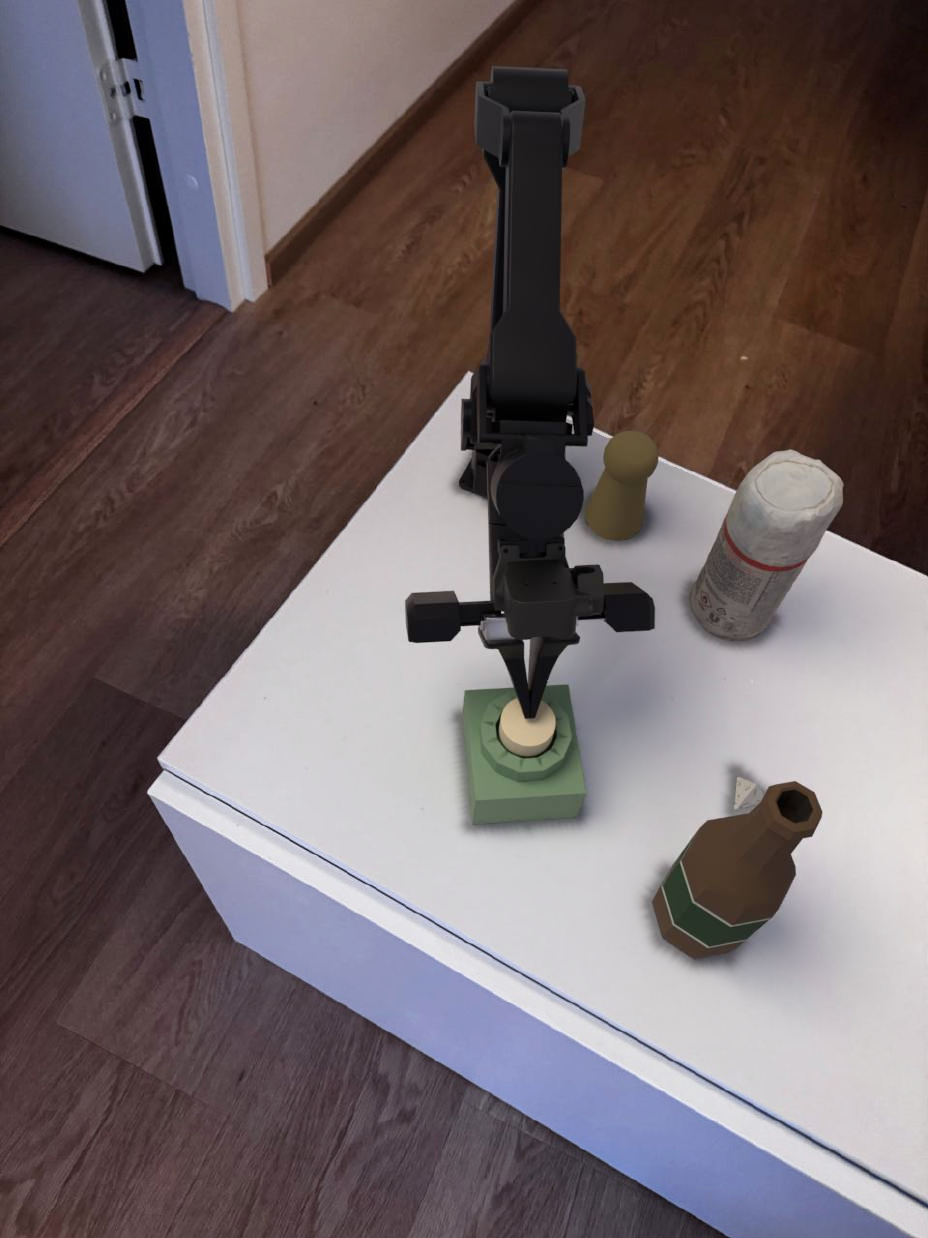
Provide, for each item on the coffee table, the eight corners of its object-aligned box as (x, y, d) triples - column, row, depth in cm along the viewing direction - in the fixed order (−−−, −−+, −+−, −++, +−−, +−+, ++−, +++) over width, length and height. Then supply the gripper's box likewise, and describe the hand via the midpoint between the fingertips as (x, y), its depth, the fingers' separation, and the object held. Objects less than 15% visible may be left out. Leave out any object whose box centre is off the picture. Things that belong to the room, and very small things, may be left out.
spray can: (778, 648, 93) (860, 519, 76) (693, 644, 92) (755, 514, 76) (765, 575, 97) (840, 438, 80) (684, 571, 97) (741, 433, 80)
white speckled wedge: (752, 779, 87) (757, 756, 85) (768, 803, 85) (774, 780, 83) (717, 789, 86) (721, 766, 84) (732, 812, 84) (737, 789, 82)
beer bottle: (742, 972, 77) (861, 881, 56) (644, 951, 77) (727, 853, 57) (746, 877, 81) (859, 760, 60) (654, 857, 81) (734, 734, 61)
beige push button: (496, 709, 80) (497, 697, 78) (548, 706, 80) (551, 694, 79) (501, 758, 78) (504, 747, 76) (556, 755, 78) (559, 744, 76)
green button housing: (461, 718, 87) (465, 678, 81) (560, 712, 88) (572, 672, 82) (471, 825, 82) (476, 791, 76) (576, 817, 83) (590, 783, 76)
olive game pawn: (623, 550, 98) (645, 479, 89) (573, 520, 100) (589, 447, 90) (653, 513, 101) (678, 441, 91) (605, 485, 102) (624, 411, 93)
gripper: (406, 542, 65) (416, 762, 68) (679, 529, 66) (675, 745, 70) (400, 521, 75) (409, 712, 79) (636, 511, 77) (634, 698, 81)
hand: (529, 717), depth 77 cm, fingers closed
